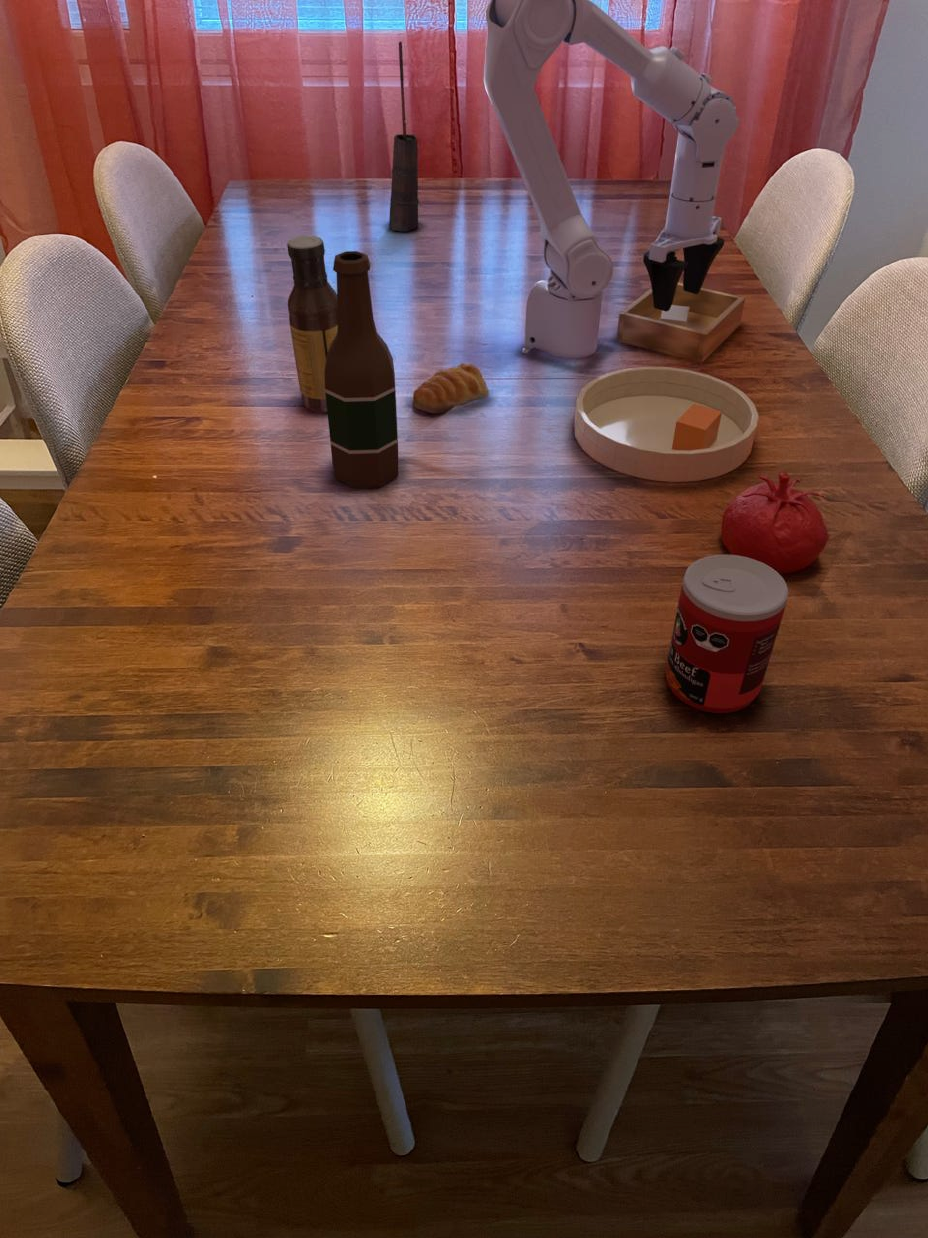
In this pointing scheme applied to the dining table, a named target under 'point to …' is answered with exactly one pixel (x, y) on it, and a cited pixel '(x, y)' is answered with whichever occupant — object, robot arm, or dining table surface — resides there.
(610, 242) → the dining table surface
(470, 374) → the pastry
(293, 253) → the sauce bottle
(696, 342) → the holder
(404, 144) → the butter churn
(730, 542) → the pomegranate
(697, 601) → the canned food
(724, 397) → the bowl
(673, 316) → the beige wooden cube
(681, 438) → the orange wooden cube
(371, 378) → the beer bottle
